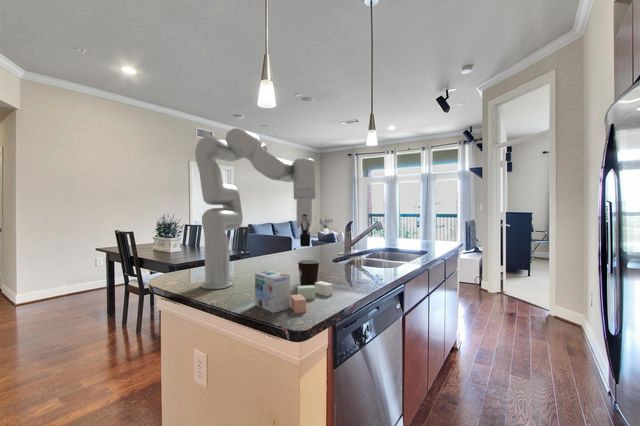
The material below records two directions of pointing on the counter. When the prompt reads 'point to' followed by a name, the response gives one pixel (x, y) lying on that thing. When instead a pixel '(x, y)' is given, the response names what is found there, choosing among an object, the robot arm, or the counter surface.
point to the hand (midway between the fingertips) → (305, 244)
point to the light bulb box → (272, 291)
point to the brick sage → (306, 291)
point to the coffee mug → (308, 272)
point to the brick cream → (324, 288)
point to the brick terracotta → (298, 303)
